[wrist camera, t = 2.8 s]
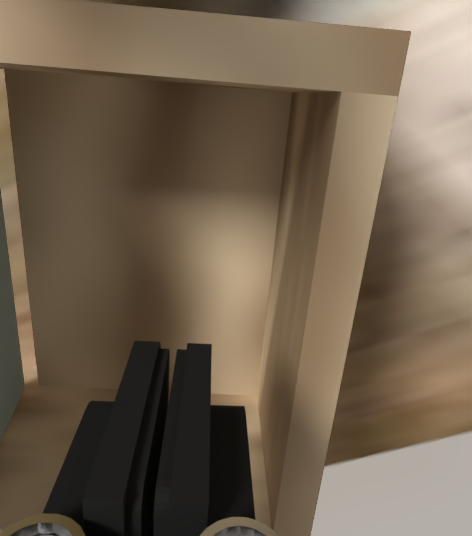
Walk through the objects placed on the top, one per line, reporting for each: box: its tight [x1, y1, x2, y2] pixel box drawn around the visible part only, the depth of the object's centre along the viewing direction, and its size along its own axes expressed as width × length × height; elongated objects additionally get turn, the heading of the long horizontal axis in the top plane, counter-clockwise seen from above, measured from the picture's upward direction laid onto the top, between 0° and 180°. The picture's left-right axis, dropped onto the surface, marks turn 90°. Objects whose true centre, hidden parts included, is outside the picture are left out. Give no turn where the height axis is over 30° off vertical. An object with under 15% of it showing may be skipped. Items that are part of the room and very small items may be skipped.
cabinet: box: [0, 0, 411, 536], centre depth 15 cm, size 12×16×9 cm
